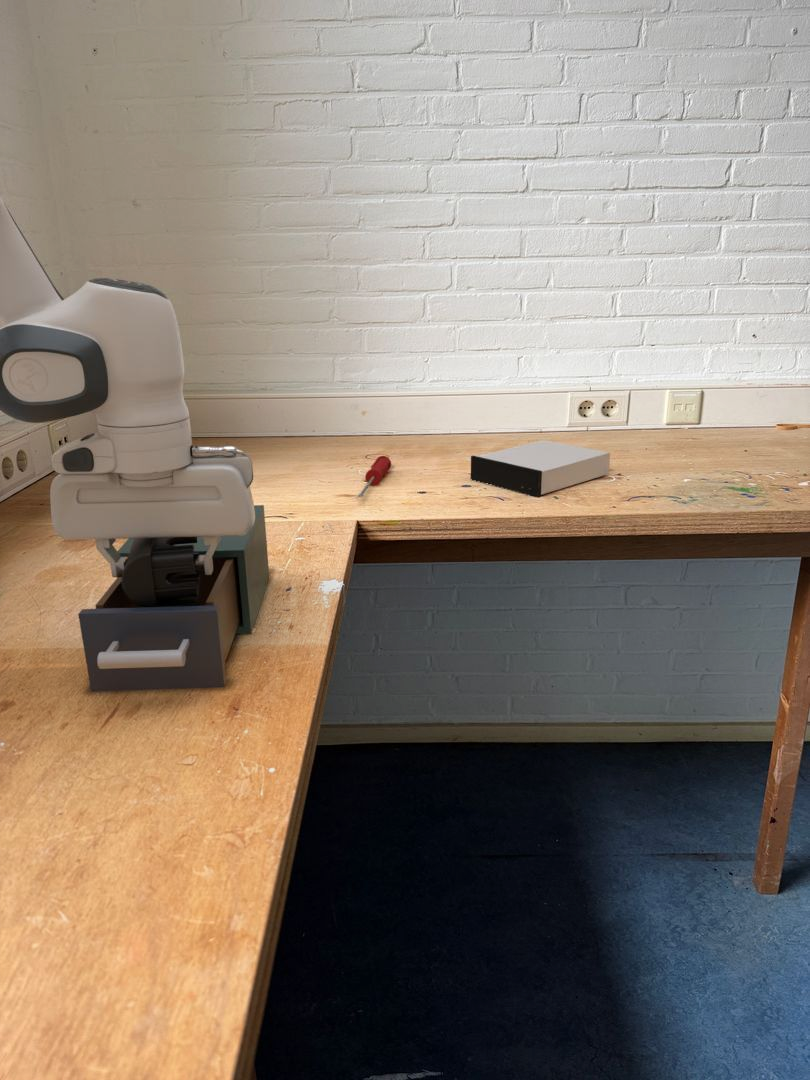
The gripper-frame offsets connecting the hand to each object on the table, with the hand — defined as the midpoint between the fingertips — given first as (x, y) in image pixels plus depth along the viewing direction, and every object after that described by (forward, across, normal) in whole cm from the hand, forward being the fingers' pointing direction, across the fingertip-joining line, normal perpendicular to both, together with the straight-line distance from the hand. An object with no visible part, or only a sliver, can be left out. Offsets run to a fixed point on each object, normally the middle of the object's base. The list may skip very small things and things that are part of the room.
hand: (163, 574), depth 85 cm
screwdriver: (+11, -22, -72) cm, 76 cm away
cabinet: (+11, 0, -16) cm, 20 cm away
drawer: (+10, 0, +1) cm, 10 cm away
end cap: (+3, 0, 0) cm, 3 cm away
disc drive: (+11, -56, -76) cm, 95 cm away
